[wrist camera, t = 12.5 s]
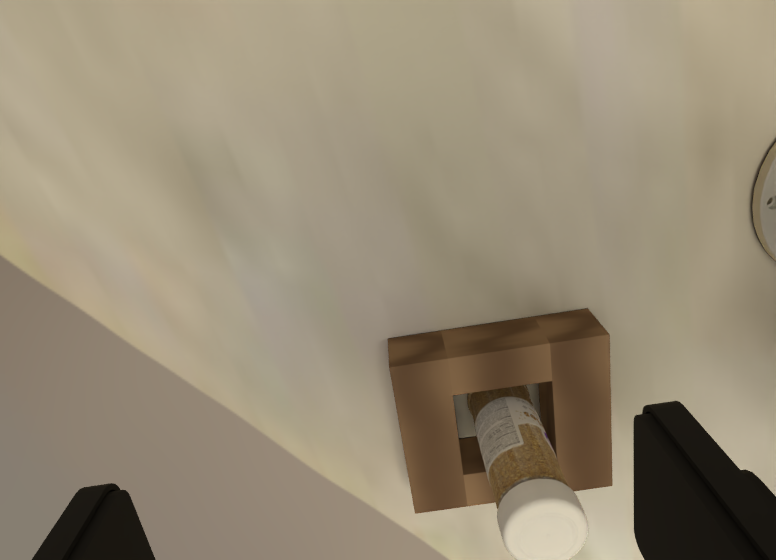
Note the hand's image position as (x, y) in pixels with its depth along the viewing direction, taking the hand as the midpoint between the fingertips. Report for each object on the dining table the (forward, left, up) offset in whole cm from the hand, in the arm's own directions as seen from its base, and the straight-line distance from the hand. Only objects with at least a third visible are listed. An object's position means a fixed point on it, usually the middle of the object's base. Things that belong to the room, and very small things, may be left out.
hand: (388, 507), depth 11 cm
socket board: (-6, +17, -28) cm, 34 cm away
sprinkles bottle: (-6, +17, -28) cm, 34 cm away
